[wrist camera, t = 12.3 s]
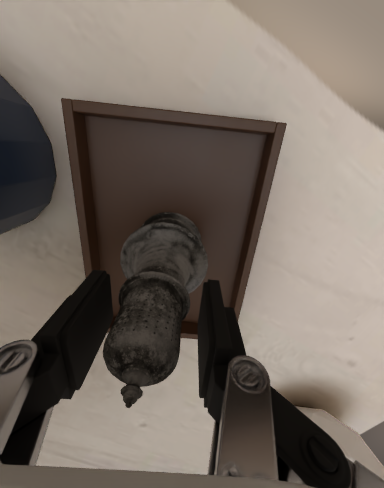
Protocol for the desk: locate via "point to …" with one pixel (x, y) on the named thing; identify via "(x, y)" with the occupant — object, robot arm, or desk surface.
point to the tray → (171, 186)
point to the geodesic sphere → (345, 439)
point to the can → (22, 161)
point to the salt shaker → (154, 301)
